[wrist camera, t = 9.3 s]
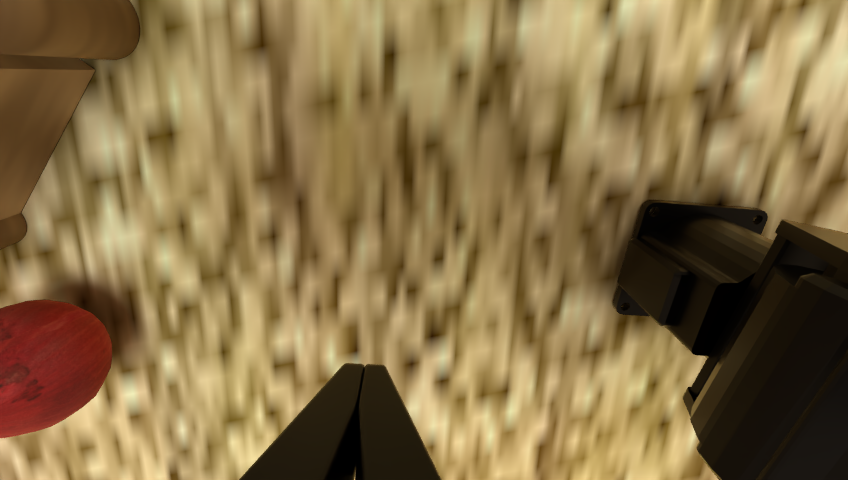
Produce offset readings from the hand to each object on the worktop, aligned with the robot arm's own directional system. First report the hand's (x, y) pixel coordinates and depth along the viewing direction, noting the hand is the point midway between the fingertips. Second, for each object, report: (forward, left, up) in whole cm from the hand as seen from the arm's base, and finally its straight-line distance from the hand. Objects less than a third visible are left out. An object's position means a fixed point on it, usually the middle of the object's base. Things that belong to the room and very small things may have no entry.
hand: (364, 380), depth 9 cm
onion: (+16, +8, -13) cm, 22 cm away
